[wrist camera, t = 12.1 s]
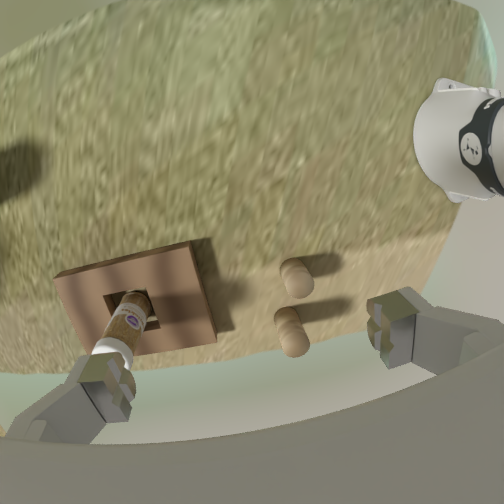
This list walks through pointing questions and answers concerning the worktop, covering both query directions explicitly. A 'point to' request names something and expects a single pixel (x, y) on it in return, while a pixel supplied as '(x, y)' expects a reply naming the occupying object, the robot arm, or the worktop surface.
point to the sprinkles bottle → (125, 327)
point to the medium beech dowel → (291, 332)
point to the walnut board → (160, 293)
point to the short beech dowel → (296, 278)
